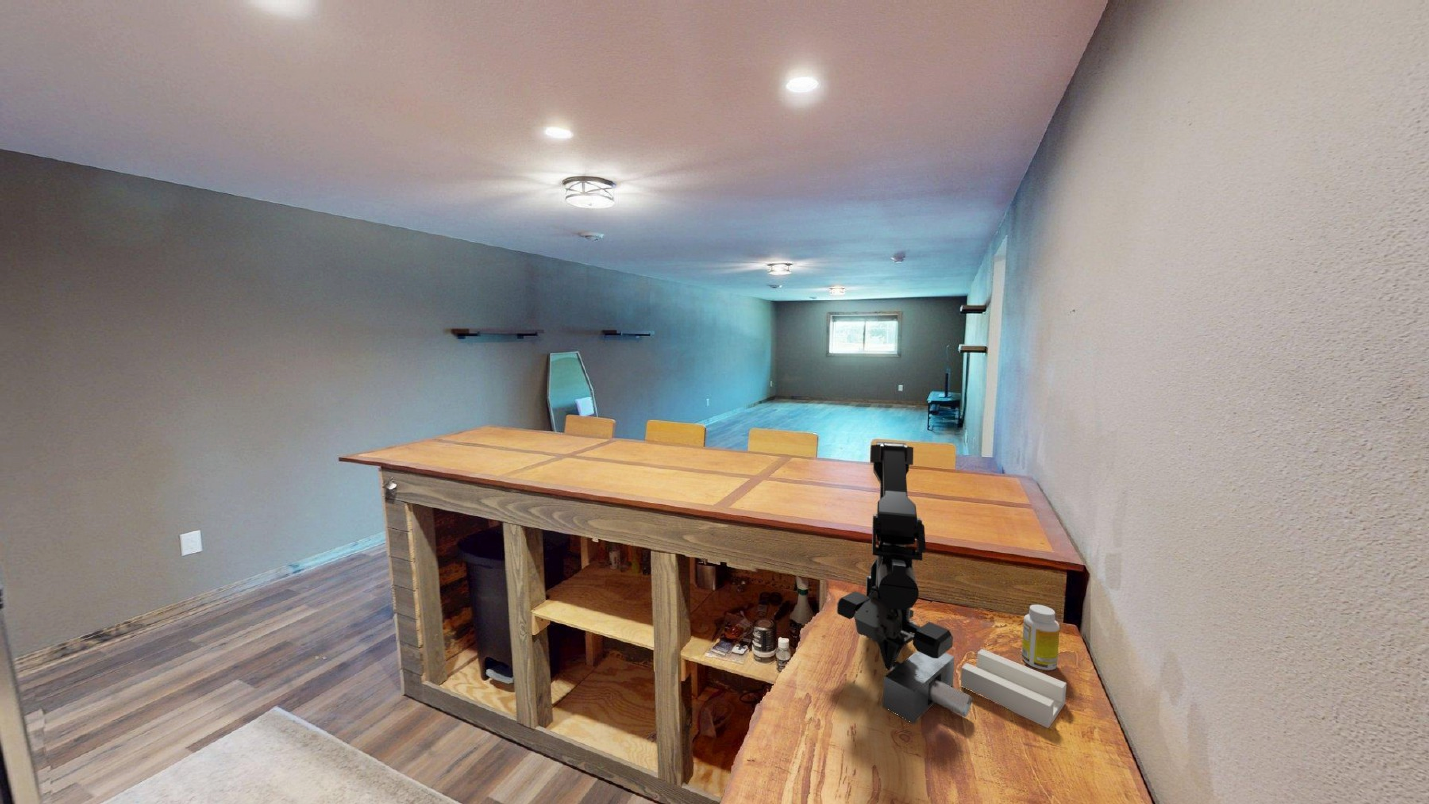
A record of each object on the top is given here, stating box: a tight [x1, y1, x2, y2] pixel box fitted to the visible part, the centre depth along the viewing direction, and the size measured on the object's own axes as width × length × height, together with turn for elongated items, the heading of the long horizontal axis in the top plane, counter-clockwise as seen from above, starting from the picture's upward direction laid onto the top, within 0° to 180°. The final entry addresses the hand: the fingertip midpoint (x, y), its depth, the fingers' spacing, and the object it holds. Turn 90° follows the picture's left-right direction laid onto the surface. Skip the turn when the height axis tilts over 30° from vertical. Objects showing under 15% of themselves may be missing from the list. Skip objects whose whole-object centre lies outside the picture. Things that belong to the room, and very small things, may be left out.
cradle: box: [960, 648, 1067, 729], centre depth 85 cm, size 13×9×4 cm, turn 42°
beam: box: [882, 650, 955, 725], centre depth 84 cm, size 5×14×5 cm, turn 132°
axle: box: [890, 660, 972, 718], centre depth 83 cm, size 12×3×3 cm, turn 42°
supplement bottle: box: [1021, 604, 1060, 671], centre depth 94 cm, size 6×6×10 cm
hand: (888, 668), depth 88 cm, fingers closed
